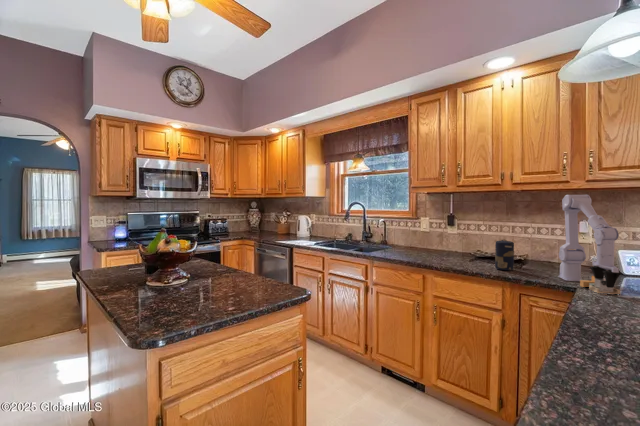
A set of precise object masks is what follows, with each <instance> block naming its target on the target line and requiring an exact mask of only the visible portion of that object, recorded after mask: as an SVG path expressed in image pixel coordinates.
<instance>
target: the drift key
mask: <svg viewBox="0 0 640 426" xmlns="http://www.w3.org/2000/svg"><path fill="white" fill-rule="evenodd" d="M589 283H594V284H595V277H594V275H591V280H588V279H582V280H580V281H579V287H581V288H583V287H589Z"/></svg>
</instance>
